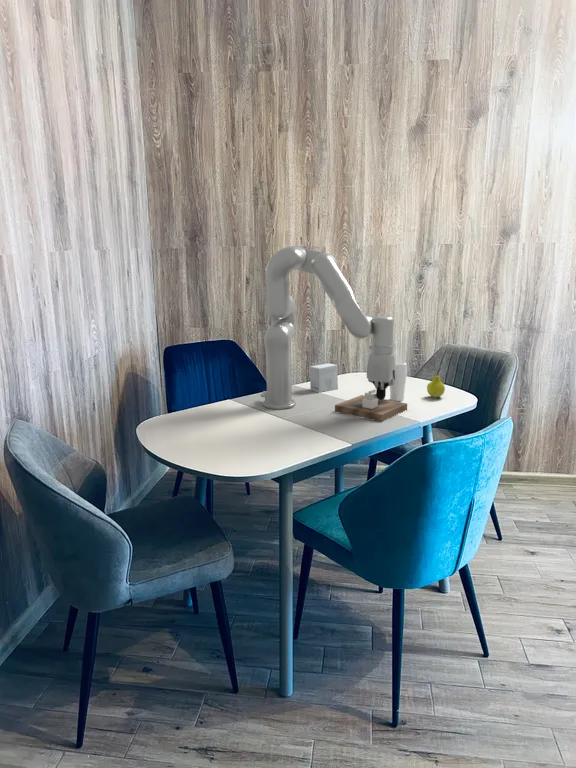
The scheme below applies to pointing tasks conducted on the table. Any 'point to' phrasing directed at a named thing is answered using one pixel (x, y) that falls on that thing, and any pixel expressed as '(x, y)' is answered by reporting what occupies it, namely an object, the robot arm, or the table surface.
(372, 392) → the tab
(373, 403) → the front tab
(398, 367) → the drinking glass
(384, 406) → the switch board
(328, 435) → the table surface
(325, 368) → the skincare box
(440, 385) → the fruit
